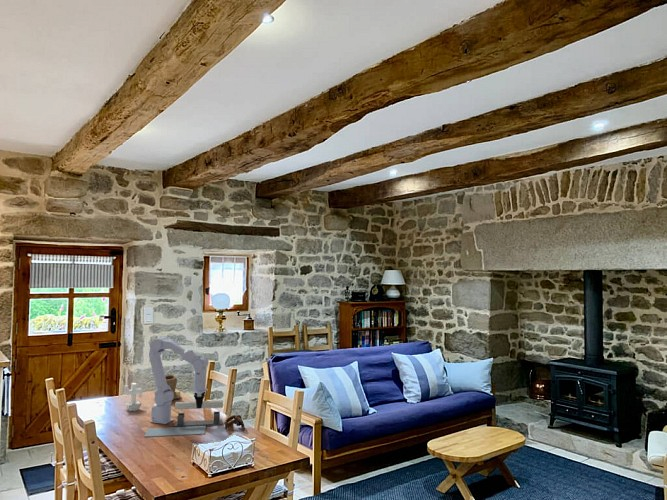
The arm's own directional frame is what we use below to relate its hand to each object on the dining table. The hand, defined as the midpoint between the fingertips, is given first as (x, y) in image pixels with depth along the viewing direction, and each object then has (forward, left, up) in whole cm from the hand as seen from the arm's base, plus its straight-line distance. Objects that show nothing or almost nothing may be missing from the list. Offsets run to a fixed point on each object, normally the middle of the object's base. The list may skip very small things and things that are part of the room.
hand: (199, 407), depth 259 cm
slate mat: (-4, -14, -9) cm, 17 cm away
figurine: (-49, +10, -9) cm, 51 cm away
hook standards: (0, 0, -9) cm, 9 cm away
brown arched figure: (+22, 0, -9) cm, 23 cm away
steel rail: (0, 0, 0) cm, 0 cm away
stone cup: (-43, +36, -9) cm, 57 cm away
